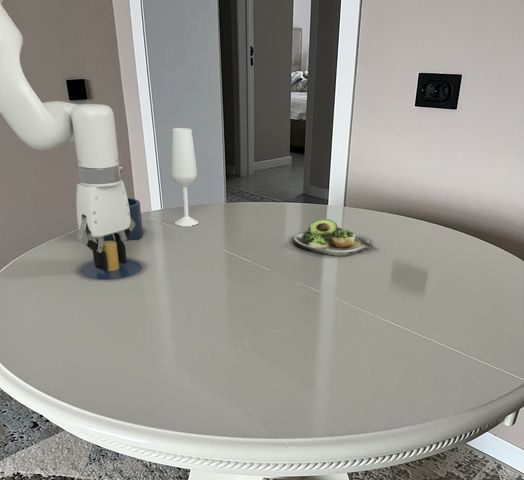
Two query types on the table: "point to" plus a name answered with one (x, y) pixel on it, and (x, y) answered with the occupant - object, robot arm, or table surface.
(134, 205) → the pot
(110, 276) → the lid
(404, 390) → the table surface
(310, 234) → the salad plate
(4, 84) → the robot arm
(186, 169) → the champagne flute
